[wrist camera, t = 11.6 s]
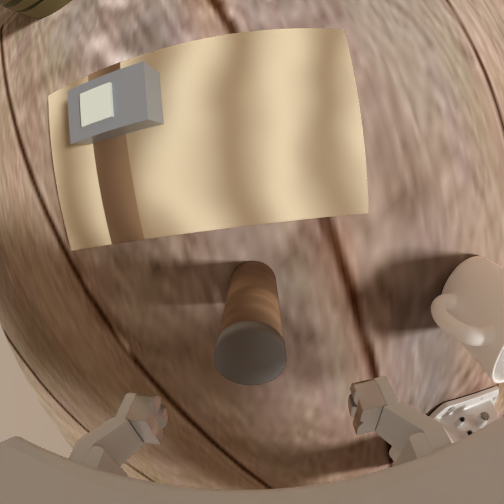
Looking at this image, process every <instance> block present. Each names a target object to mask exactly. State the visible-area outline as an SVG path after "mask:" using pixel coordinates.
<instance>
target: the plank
mask: <svg viewBox="0 0 504 504" xmlns="http://www.w3.org/2000/svg"><path fill="white" fill-rule="evenodd" d="M143 61H144V62H145V63H147V64H148V65H150V66H151V67H152V68H154V69H155V70H156V71H157V72H159V73H160V86H161V98H162V108H163V118H164V124H162V125H158V126H154V127H150V128H146V129H142V130H138V131H134V132H131V133H127V134H123V135H120V136H117V137H113V138H110V139H107V140H104V141H100V142H97V143H94V144H71V142H70V131H69V116H68V91H69V90H71V89H73V88H75V87H77V86H79V85H82V84H84V83H86V82H88V81H91V80H93V79H96V78H98V77H101V76H103V75H106V74H108V73H111V72H114V71H116V70H119V69H122V68H125V67H128V66H131V65H134V64H137V63H140V62H143ZM48 104H49V125H50V138H51V148H52V157H53V165H54V172H55V178H56V184H57V190H58V196H59V201H60V206H61V210H62V215H63V219H64V224H65V228H66V232H67V236H68V240H69V243H70V247H71V251H73V250H79V249H85V248H92V247H98V246H104V245H110V244H117V243H123V242H130V241H136V240H143V239H150V238H157V237H164V236H171V235H178V234H185V233H193V232H200V231H208V230H216V229H224V228H232V227H240V226H248V225H257V224H265V223H274V222H283V221H292V220H301V219H311V218H321V217H331V216H341V215H352V214H363V213H369V211H368V187H367V171H366V158H365V147H364V138H363V129H362V121H361V114H360V107H359V100H358V94H357V88H356V82H355V77H354V72H353V67H352V62H351V57H350V52H349V48H348V44H347V39H346V35H345V31H344V30H342V29H319V28H297V29H274V30H261V31H250V32H242V33H234V34H227V35H221V36H215V37H210V38H204V39H199V40H195V41H190V42H186V43H182V44H177V45H174V46H170V47H166V48H162V49H159V50H155V51H152V52H149V53H146V54H143V55H139V56H136V57H134V58H131V59H128V60H125V61H122V62H120V63H117V64H114V65H112V66H109V67H107V68H104V69H102V70H99V71H97V72H95V73H93V74H90V75H88V76H86V77H84V78H82V79H79V80H77V81H75V82H73V83H71V84H69V85H67V86H65V87H63V88H61V89H59V90H58V91H56V92H54V93H52V94H50V95H48Z"/></svg>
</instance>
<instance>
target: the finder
mask: <svg viewBox="0 0 504 504" xmlns="http://www.w3.org/2000/svg"><path fill="white" fill-rule="evenodd" d="M68 116H69V131H70V142H71V144H94V143H97V142H100V141H104V140H107V139H110V138H113V137H117V136H120V135H123V134H127V133H131V132H134V131H138V130H142V129H146V128H150V127H154V126H158V125H162V124H164V118H163V108H162V98H161V86H160V73H159V72H157V71H156V70H155V69H154V68H152V67H151V66H150V65H148V64H147V63H145V62H144V61H143V62H140V63H137V64H134V65H131V66H128V67H125V68H122V69H119V70H116V71H114V72H111V73H108V74H106V75H103V76H101V77H98V78H96V79H93V80H91V81H88V82H86V83H84V84H82V85H79V86H77V87H75V88H73V89H71V90H69V91H68Z"/></svg>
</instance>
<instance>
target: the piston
mask: <svg viewBox="0 0 504 504" xmlns="http://www.w3.org/2000/svg"><path fill="white" fill-rule="evenodd" d="M70 1H72V0H0V5H2V4H3V6H4V7H6V8H9V9H11V10H14V11H17V12H19V13H22V14H24V15H27V16H29V17H31V18H35V19H39V18H43V17H46V16H49V15H51V14H53V13H54V12H56V11H58V10H59V9H61V8H62V7H64V6H65V5H66V4H68V3H69V2H70Z"/></svg>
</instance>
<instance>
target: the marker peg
mask: <svg viewBox="0 0 504 504" xmlns="http://www.w3.org/2000/svg"><path fill="white" fill-rule="evenodd" d="M214 363H215V366H216V368H217V370H218V371H219V372H220V373H221V374H222V375H223V376H224V377H225V378H227V379H228V380H230V381H232V382H235V383H238V384H242V385H260V384H264V383H267V382H269V381H272V380H273V379H275V378H276V377H278V376H279V375H280V374H281V373H282V371H283V370H284V368H285V365H286V349H285V343H284V340H283V332H282V324H281V316H280V308H279V300H278V292H277V285H276V278H275V274H274V272H273V271H272V269H271V268H270V267H269V266H267V265H266V264H264V263H262V262H258V261H248V262H245V263H242V264H241V265H239V266H238V267H237V268H236V269H235V270H234V272H233V274H232V276H231V281H230V286H229V290H228V295H227V300H226V304H225V309H224V314H223V318H222V323H221V328H220V333H219V337H218V339H217V343H216V347H215V352H214Z"/></svg>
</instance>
